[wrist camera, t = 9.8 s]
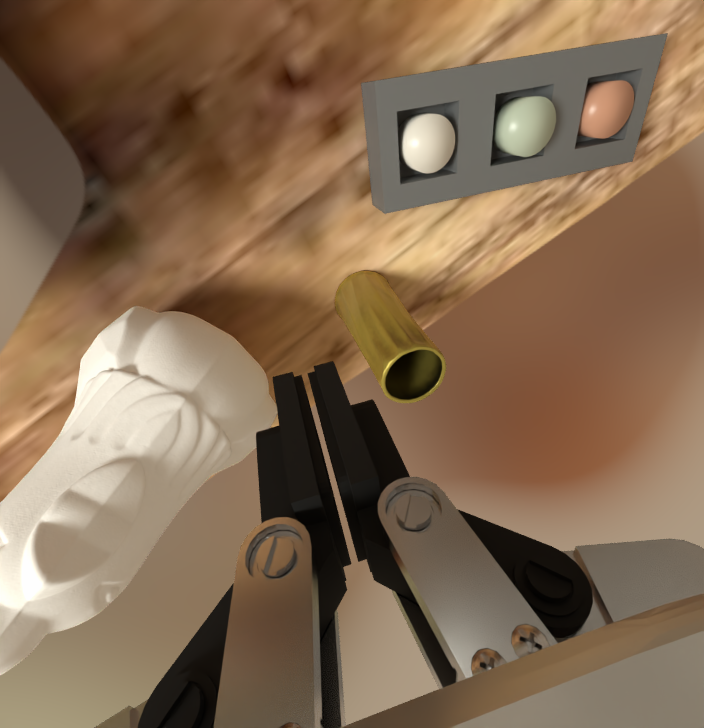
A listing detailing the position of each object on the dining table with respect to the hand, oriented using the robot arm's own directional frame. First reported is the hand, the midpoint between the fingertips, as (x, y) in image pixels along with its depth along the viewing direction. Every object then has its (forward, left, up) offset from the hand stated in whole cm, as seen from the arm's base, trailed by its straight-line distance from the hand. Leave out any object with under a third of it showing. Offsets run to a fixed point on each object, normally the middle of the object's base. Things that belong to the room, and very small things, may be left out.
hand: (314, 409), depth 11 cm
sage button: (-3, +22, -25) cm, 33 cm away
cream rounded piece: (-3, +14, -26) cm, 29 cm away
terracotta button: (-3, +30, -26) cm, 39 cm away
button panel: (-3, +22, -27) cm, 35 cm away
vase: (+11, +8, -27) cm, 31 cm away
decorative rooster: (+15, -16, -27) cm, 35 cm away
